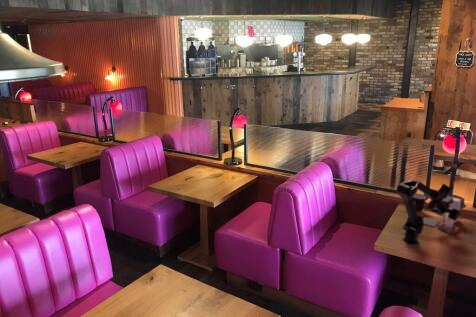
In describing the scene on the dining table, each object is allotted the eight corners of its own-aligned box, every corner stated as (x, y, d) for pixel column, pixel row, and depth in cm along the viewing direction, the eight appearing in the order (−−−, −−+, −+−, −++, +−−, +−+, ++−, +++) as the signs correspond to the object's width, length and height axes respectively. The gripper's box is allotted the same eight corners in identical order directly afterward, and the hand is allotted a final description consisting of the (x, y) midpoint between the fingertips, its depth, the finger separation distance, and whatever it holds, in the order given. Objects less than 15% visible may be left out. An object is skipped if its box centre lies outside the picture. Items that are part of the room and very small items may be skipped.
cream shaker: (447, 231, 243) (450, 216, 240) (442, 228, 247) (444, 213, 244) (453, 230, 244) (456, 215, 241) (447, 227, 248) (450, 212, 245)
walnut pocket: (448, 233, 241) (448, 230, 240) (437, 227, 248) (438, 224, 247) (458, 231, 243) (459, 228, 242) (447, 226, 250) (448, 222, 250)
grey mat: (434, 227, 249) (434, 226, 248) (419, 222, 254) (419, 222, 254) (439, 221, 257) (439, 220, 256) (424, 217, 262) (424, 216, 262)
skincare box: (458, 220, 259) (462, 199, 254) (455, 223, 255) (459, 201, 250) (444, 216, 264) (448, 195, 260) (441, 219, 260) (445, 198, 256)
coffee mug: (409, 206, 279) (411, 193, 276) (422, 208, 277) (424, 194, 275) (412, 213, 268) (414, 199, 265) (426, 214, 266) (428, 201, 264)
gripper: (461, 198, 227) (470, 212, 235) (432, 187, 243) (441, 201, 251) (450, 213, 226) (459, 227, 234) (422, 202, 242) (431, 215, 250)
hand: (448, 216), depth 242 cm, fingers open, 9 cm apart
